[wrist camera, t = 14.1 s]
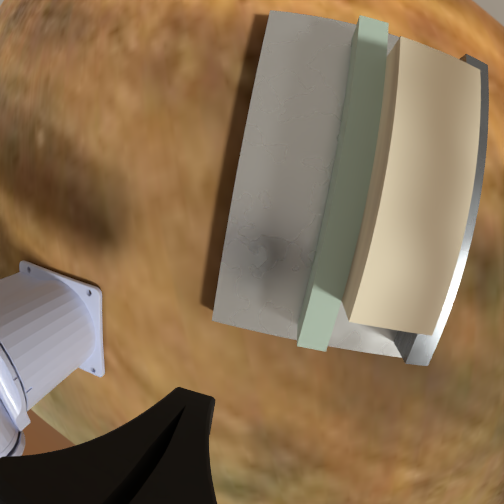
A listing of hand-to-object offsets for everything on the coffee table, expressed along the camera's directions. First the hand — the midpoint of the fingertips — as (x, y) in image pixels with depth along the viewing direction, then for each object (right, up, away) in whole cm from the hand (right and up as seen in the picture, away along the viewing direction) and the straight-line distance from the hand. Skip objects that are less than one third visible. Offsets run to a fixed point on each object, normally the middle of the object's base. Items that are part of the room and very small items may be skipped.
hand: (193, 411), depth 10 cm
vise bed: (+8, +9, +7) cm, 14 cm away
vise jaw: (+7, +9, +6) cm, 13 cm away
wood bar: (+10, +9, +5) cm, 14 cm away
